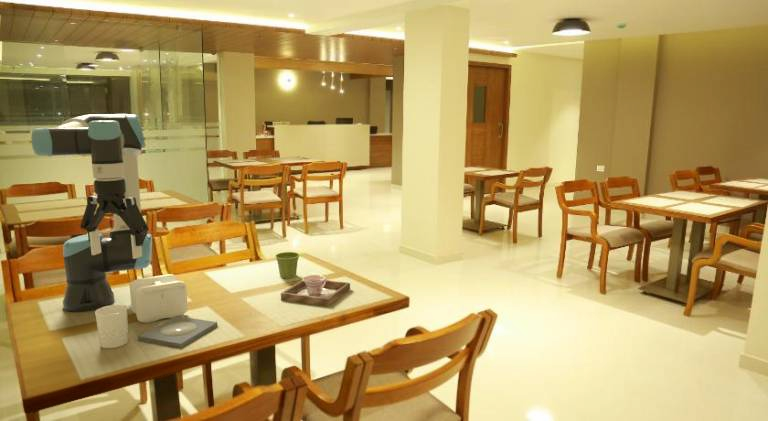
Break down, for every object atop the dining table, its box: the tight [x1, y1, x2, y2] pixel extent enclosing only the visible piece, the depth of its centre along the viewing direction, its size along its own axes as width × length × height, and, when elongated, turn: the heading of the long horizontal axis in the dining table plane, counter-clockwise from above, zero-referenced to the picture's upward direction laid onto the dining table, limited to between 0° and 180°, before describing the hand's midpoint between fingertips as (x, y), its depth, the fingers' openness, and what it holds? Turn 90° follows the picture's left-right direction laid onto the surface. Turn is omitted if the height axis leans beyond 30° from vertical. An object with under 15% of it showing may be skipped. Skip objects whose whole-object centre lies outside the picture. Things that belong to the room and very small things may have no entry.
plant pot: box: [274, 251, 301, 280], centre depth 209 cm, size 9×9×9 cm
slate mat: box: [137, 315, 218, 349], centre depth 157 cm, size 15×16×1 cm
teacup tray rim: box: [280, 279, 351, 307], centre depth 189 cm, size 18×18×2 cm
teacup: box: [297, 274, 332, 298], centre depth 188 cm, size 12×12×6 cm
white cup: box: [94, 304, 129, 349], centre depth 149 cm, size 8×8×10 cm
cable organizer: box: [129, 273, 189, 323], centre depth 169 cm, size 15×11×12 cm
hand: (116, 255), depth 147 cm, fingers open, 13 cm apart
